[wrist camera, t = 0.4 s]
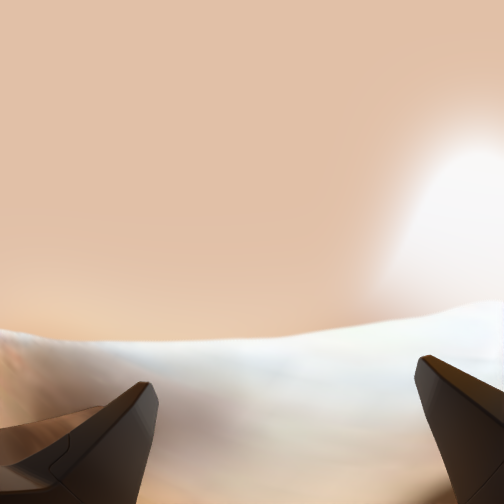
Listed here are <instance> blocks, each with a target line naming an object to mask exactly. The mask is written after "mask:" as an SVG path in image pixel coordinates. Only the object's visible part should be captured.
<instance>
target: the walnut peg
mask: <svg viewBox="0 0 504 504" xmlns="http://www.w3.org/2000/svg"><path fill="white" fill-rule="evenodd" d="M102 408H104V407H103V406H97V407H93V408H90V409H86V410H82V411H79V412H75V413H71V414H67V415H63V416H59V417H55V418H51V419H47V420H42V421H38V422H33V423H28V424H23V425H18V426H13V427H8V428H2V429H0V466H6V465H12V464H15V463H17V462H19V461H21V460H23V459H25V458H27V457H29V456H31V455H33V454H34V453H36V452H38V451H40V450H42V449H44V448H45V447H47V446H49V445H51V444H52V443H54V442H55V441H57V440H58V439H60V438H61V437H63V436H64V435H66V434H67V433H70V431H71V430H73V429H74V428H76V427H77V426H79V425H80V424H81V423H83V422H84V421H86V420H87V419H88V418H90V417H91V416H93V415H94V414H95V413H97V412H98V411H100V410H101V409H102Z"/></svg>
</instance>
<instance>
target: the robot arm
mask: <svg viewBox="0 0 504 504" xmlns="http://www.w3.org/2000/svg"><path fill="white" fill-rule="evenodd" d="M414 379H415V384H416V387H417V390H418V393H419V396H420V400H421V403H422V406H423V410H424V413H425V416H426V419H427V421H428V424H429V426H430V428H431V431H432V433H433V436H434V438H435V441H436V443H437V446H438V448H439V451H440V454H441V456H442V459H443V462H444V464H445V467H446V470H447V473H448V475H449V478H450V481H451V484H452V487H453V490H454V493H455V496H456V499H457V502H458V504H504V392H503V391H501V390H499V389H497V388H495V387H493V386H491V385H489V384H487V383H485V382H483V381H481V380H479V379H477V378H475V377H473V376H471V375H469V374H467V373H465V372H463V371H461V370H459V369H457V368H455V367H453V366H451V365H450V364H448V363H446V362H444V361H442V360H440V359H438V358H436V357H434V356H432V355H426V356H422V357H420V358H419V360H418V363H417V367H416V371H415V376H414ZM157 411H158V398H157V395H156V393H155V391H154V388H153V386H152V384H151V383H150V382H138V383H136V384H135V385H134V386H132V387H131V388H130V389H128V390H127V391H126V392H124V393H123V394H122V395H120V396H119V397H118V398H116V399H115V400H113V401H112V402H111V403H109V404H108V405H107V406H105V407H104V408H102V409H101V410H100V411H98V412H97V413H95V414H94V415H93V416H91V417H90V418H88V419H87V420H86V421H84V422H83V423H81V424H80V425H79V426H77V427H76V428H74V429H73V430H71V431H70V433H67V434H66V435H64V436H63V437H61V438H60V439H58V440H57V441H55V442H54V443H52V444H51V445H49V446H47V447H45V448H44V449H42V450H40V451H38V452H36V453H34V454H33V455H31V456H29V457H27V458H25V459H23V460H21V461H19V462H17V463H15V464H12V465H6V466H0V504H136V501H137V497H138V493H139V489H140V486H141V482H142V478H143V474H144V471H145V467H146V463H147V460H148V456H149V452H150V449H151V445H152V441H153V436H154V430H155V423H156V417H157Z"/></svg>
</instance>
